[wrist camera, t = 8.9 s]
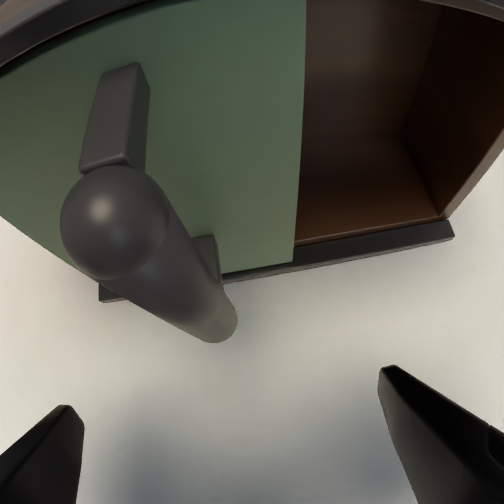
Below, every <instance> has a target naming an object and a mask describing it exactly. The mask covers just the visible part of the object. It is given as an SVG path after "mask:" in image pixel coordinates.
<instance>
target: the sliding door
mask: <svg viewBox="0 0 504 504" xmlns="http://www.w3.org/2000/svg"><path fill="white" fill-rule="evenodd" d="M305 46H306V0H156V1H152V2H149V3H146V4H142V5H139V6H136V7H133V8H130V9H127V10H124V11H121V12H118V13H115V14H112V15H110V16H107V17H104V18H102V19H99V20H96V21H94V22H91V23H89V24H87V25H84V26H82V27H80V28H77V29H75V30H73V31H71V32H68V33H66V34H64V35H62V36H60V37H58V38H56V39H54V40H52V41H50V42H48V43H46V44H44V45H42V46H40V47H38V48H36V49H34V50H32V51H31V52H29V53H27V54H25V55H23V56H22V57H20V58H18V59H17V60H15V61H13V62H12V63H10V64H8V65H7V66H5V67H3V68H2V69H0V216H1V217H2V218H4V219H5V220H6V221H8V222H9V223H10V224H12V225H13V226H14V227H16V228H17V229H18V230H20V231H21V232H23V233H24V234H25V235H27V236H28V237H30V238H31V239H32V240H34V241H35V242H37V243H38V244H40V245H41V246H42V247H44V248H45V249H47V250H48V251H50V252H51V253H53V254H54V255H56V256H57V257H59V258H60V259H62V260H63V261H65V262H66V263H68V264H69V265H71V266H72V267H74V268H76V269H77V270H79V271H80V272H82V273H83V274H85V275H87V276H88V277H90V278H91V279H93V280H95V281H96V282H98V283H99V284H101V285H103V286H104V287H106V288H108V289H109V290H111V291H113V292H115V293H117V294H118V295H120V296H122V297H124V298H125V299H127V300H129V301H130V302H132V303H134V304H136V305H137V306H139V307H141V308H143V309H144V310H146V311H148V312H150V313H152V314H153V315H155V316H157V317H159V318H161V319H162V320H164V321H166V322H168V323H170V324H172V325H174V326H175V327H177V328H179V329H181V330H183V331H185V332H187V333H189V334H191V335H193V336H195V337H197V338H199V339H201V340H203V341H205V342H208V343H219V342H223V341H225V340H226V339H228V338H229V337H230V336H231V335H232V334H233V333H234V331H235V329H236V326H237V313H236V310H235V308H234V306H233V305H232V303H231V302H230V300H229V298H228V297H227V295H226V294H225V292H224V290H223V283H222V276H221V274H224V273H230V272H235V271H241V270H247V269H252V268H258V267H263V266H269V265H275V264H280V263H286V262H291V261H292V259H293V248H294V237H295V225H296V213H297V200H298V186H299V172H300V157H301V140H302V122H303V102H304V78H305Z"/></svg>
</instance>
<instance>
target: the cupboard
mask: <svg viewBox="0 0 504 504" xmlns="http://www.w3.org/2000/svg"><path fill="white" fill-rule="evenodd" d="M152 1H156V0H8V1H6V2H5V3H3V4H2V5H0V69H2V68H3V67H5V66H7V65H8V64H10V63H12V62H13V61H15V60H17V59H18V58H20V57H22V56H23V55H25V54H27V53H29V52H31V51H32V50H34V49H36V48H38V47H40V46H42V45H44V44H46V43H48V42H50V41H52V40H54V39H56V38H58V37H60V36H62V35H64V34H66V33H68V32H71V31H73V30H75V29H77V28H80V27H82V26H84V25H87V24H89V23H91V22H94V21H96V20H99V19H102V18H104V17H107V16H110V15H112V14H115V13H118V12H121V11H124V10H127V9H130V8H133V7H136V6H139V5H142V4H146V3H149V2H152ZM503 149H504V0H306V46H305V78H304V102H303V122H302V140H301V157H300V172H299V186H298V200H297V213H296V225H295V237H294V248H293V259H292V261H291V262H286V263H280V264H275V265H269V266H263V267H258V268H252V269H247V270H241V271H235V272H230V273H224V274H221V276H222V283H223V284H225V283H231V282H237V281H243V280H249V279H254V278H260V277H265V276H271V275H277V274H282V273H288V272H293V271H298V270H304V269H309V268H314V267H320V266H325V265H330V264H335V263H341V262H346V261H351V260H356V259H361V258H366V257H371V256H376V255H381V254H386V253H391V252H396V251H401V250H405V249H410V248H415V247H420V246H424V245H429V244H434V243H438V242H443V241H448V240H452V239H453V238H454V237H455V235H454V232H453V230H452V227H451V225H450V222H449V220H447V219H448V218H449V217H450V215H451V214H452V213H453V212H454V211H455V209H456V208H457V207H458V206H459V205H460V204H461V202H462V201H463V200H464V199H465V198H466V196H467V195H468V194H469V193H470V192H471V190H472V189H473V188H474V187H475V185H476V184H477V183H478V182H479V180H480V179H481V178H482V177H483V175H484V174H485V173H486V172H487V170H488V169H489V168H490V166H491V165H492V164H493V162H494V161H495V160H496V158H497V157H498V156H499V154H500V153H501V152H502V150H503ZM120 300H126V299H125V298H124V297H122V296H120V295H118V294H117V293H115V292H113V291H111V290H109V289H108V288H106V287H104V286H103V285H101V284H99V301H100V302H102V303H106V302H113V301H120Z"/></svg>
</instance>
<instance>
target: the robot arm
mask: <svg viewBox="0 0 504 504" xmlns="http://www.w3.org/2000/svg"><path fill="white" fill-rule="evenodd" d="M378 396H379V399H380V402H381V405H382V409H383V412H384V415H385V419H386V422H387V425H388V429H389V432H390V435H391V439H392V441H393V444H394V447H395V449H396V451H397V453H398V456H399V458H400V460H401V463H402V465H403V467H404V470H405V472H406V475H407V477H408V479H409V482H410V484H411V487H412V489H413V491H414V494H415V496H416V499H417V501H418V504H504V433H503V432H501V431H500V430H498V429H496V428H495V427H493V426H492V425H490V426H489V424H488V423H486V422H485V421H483V420H482V419H480V418H478V417H477V416H475V415H474V414H472V413H470V412H469V411H467V410H466V409H464V408H462V407H461V406H459V405H458V404H456V403H455V402H453V401H451V400H450V399H448V398H447V397H445V396H443V395H442V394H440V393H439V392H437V391H436V390H434V389H432V388H431V387H429V386H428V385H426V384H425V383H423V382H421V381H420V380H418V379H417V378H415V377H414V376H412V375H410V374H409V373H407V372H406V371H404V370H403V369H401V368H400V367H398V366H396V365H390V366H387V367H383V368H381V369H380V372H379V381H378ZM84 430H85V428H84V423H83V421H82V420H81V418H80V417H79V416H78V414H77V413H76V411H75V410H74V409H73V407H72V406H70V405H58V406H57V407H56V408H55V409H54V410H52V411H51V412H50V413H49V414H48V415H47V416H45V417H44V418H43V419H42V420H41V421H40V422H38V423H37V424H36V425H35V426H34V427H33V428H31V429H30V430H29V431H28V432H27V433H26V434H24V435H23V436H22V437H21V438H20V439H19V440H17V441H16V442H15V443H14V444H13V445H12V446H11V447H9V448H8V449H7V450H6V451H5V452H4V453H2V454H1V455H0V504H76V498H77V491H78V485H79V479H80V472H81V464H82V451H83V440H84Z"/></svg>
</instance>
